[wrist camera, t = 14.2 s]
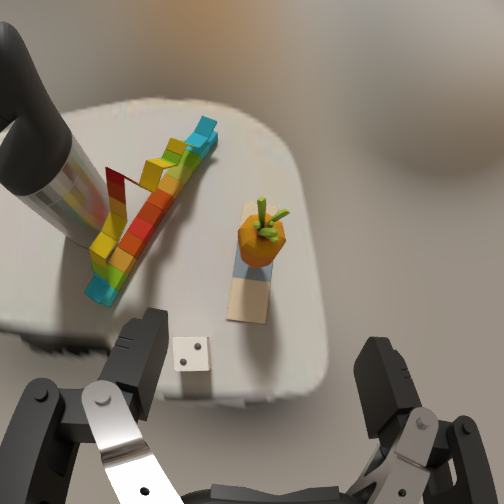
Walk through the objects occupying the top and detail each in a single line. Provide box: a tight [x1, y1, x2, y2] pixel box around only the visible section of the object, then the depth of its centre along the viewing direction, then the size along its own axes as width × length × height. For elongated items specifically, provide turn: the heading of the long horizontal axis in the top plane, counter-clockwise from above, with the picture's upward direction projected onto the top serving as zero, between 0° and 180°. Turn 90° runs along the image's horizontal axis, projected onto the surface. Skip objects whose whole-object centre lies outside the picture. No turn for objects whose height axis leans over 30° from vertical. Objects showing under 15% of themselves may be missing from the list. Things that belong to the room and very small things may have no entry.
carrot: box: [238, 197, 290, 268], centre depth 33 cm, size 5×5×15 cm
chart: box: [84, 116, 218, 307], centre depth 34 cm, size 30×3×15 cm, turn 153°
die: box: [173, 337, 211, 371], centre depth 34 cm, size 4×4×4 cm
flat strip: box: [227, 202, 278, 324], centre depth 40 cm, size 5×16×1 cm, turn 173°
